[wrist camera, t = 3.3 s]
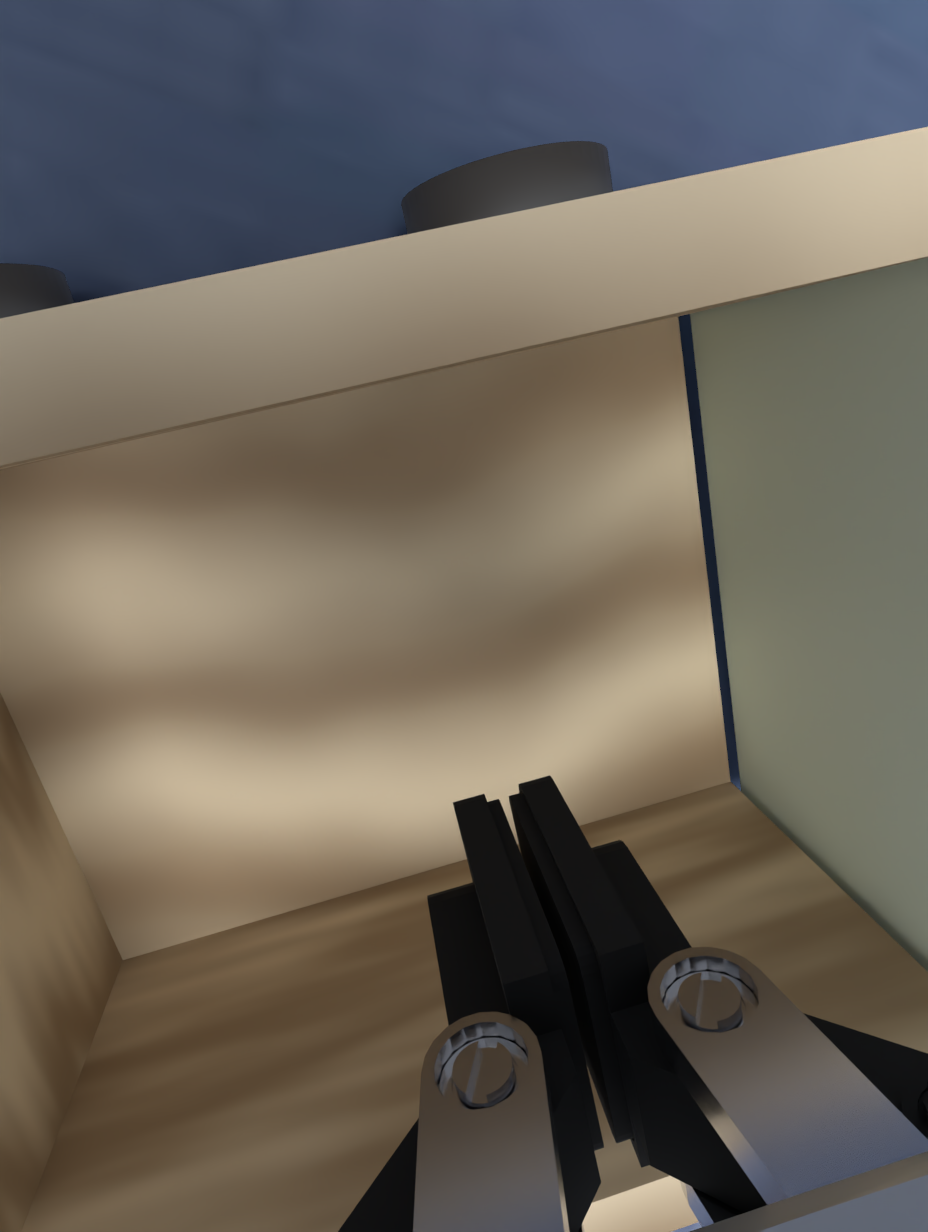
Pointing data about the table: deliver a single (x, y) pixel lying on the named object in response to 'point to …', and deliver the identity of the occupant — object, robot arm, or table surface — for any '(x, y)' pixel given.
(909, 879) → the panel
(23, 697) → the truck bed
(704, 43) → the table surface
